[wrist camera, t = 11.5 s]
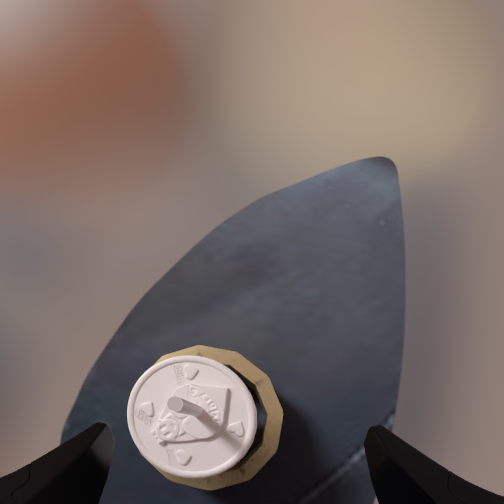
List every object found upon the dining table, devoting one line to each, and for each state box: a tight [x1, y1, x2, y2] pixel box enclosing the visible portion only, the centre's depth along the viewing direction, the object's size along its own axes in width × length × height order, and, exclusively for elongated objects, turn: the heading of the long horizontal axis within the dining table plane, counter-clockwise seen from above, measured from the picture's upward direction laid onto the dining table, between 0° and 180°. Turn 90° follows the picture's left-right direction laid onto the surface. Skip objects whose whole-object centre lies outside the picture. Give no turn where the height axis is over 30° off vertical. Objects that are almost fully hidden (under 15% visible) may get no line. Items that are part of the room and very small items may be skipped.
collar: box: [139, 345, 283, 491], centre depth 18 cm, size 10×10×4 cm
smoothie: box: [127, 355, 257, 478], centre depth 14 cm, size 6×6×14 cm
